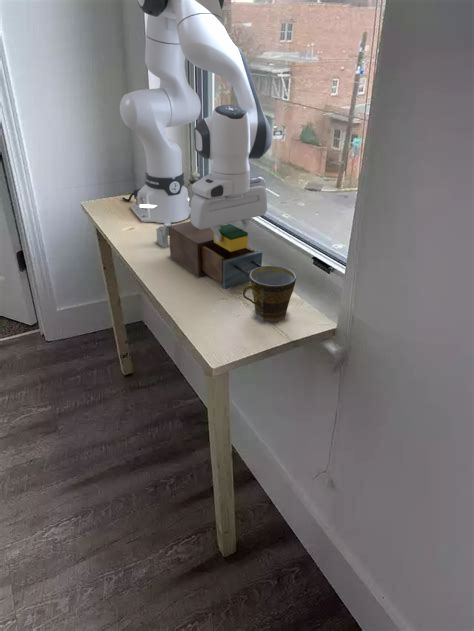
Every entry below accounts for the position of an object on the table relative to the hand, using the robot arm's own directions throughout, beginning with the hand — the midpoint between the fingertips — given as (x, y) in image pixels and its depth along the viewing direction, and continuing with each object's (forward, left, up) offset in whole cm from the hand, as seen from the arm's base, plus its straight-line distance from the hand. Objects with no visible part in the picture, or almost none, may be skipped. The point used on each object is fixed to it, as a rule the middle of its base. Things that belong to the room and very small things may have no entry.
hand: (230, 238), depth 124 cm
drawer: (+2, 0, -10) cm, 10 cm away
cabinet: (-13, 0, -11) cm, 17 cm away
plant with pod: (-30, +10, -11) cm, 33 cm away
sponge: (0, 0, -2) cm, 2 cm away
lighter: (-28, -3, -11) cm, 30 cm away
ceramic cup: (+20, -5, -11) cm, 24 cm away
